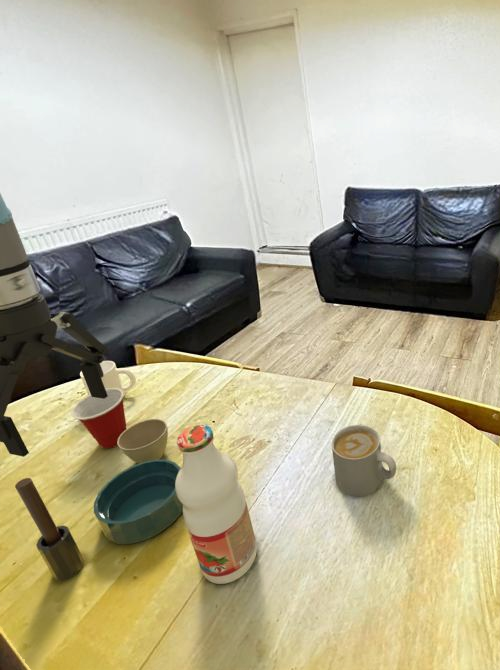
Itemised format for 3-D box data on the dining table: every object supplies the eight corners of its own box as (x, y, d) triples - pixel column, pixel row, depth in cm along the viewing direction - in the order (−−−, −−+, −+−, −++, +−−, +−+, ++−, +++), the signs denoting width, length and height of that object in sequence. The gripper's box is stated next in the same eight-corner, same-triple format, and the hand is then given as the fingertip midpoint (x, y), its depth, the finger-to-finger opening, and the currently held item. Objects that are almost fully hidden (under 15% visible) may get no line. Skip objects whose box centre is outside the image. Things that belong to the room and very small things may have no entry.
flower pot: (158, 436, 102) (150, 413, 99) (183, 450, 97) (176, 427, 95) (117, 463, 95) (107, 439, 92) (142, 480, 90) (133, 455, 87)
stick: (58, 571, 71) (11, 487, 63) (67, 560, 73) (22, 477, 65) (69, 572, 71) (23, 488, 63) (78, 561, 73) (34, 477, 65)
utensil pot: (47, 580, 70) (29, 549, 67) (67, 555, 75) (51, 524, 71) (71, 581, 70) (54, 550, 67) (90, 556, 74) (75, 525, 71)
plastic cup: (82, 441, 102) (65, 402, 97) (130, 420, 109) (116, 382, 104) (92, 464, 95) (74, 423, 90) (143, 439, 101) (129, 400, 97)
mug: (142, 384, 123) (132, 355, 119) (137, 400, 116) (127, 369, 112) (96, 394, 120) (84, 364, 116) (88, 411, 113) (75, 380, 108)
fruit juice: (265, 563, 72) (235, 438, 60) (210, 598, 67) (165, 469, 55) (247, 525, 79) (217, 406, 67) (196, 553, 74) (154, 431, 62)
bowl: (84, 544, 76) (73, 522, 74) (135, 479, 90) (127, 458, 88) (162, 548, 75) (153, 525, 73) (202, 481, 89) (195, 460, 86)
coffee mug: (326, 483, 87) (321, 446, 83) (355, 453, 94) (352, 418, 90) (377, 512, 80) (375, 474, 76) (404, 478, 87) (403, 441, 83)
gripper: (-86, 348, 45) (-4, 489, 54) (106, 271, 67) (142, 380, 76) (-132, 342, 47) (-45, 479, 55) (70, 269, 69) (109, 375, 77)
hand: (63, 422), depth 65 cm, fingers open, 13 cm apart
